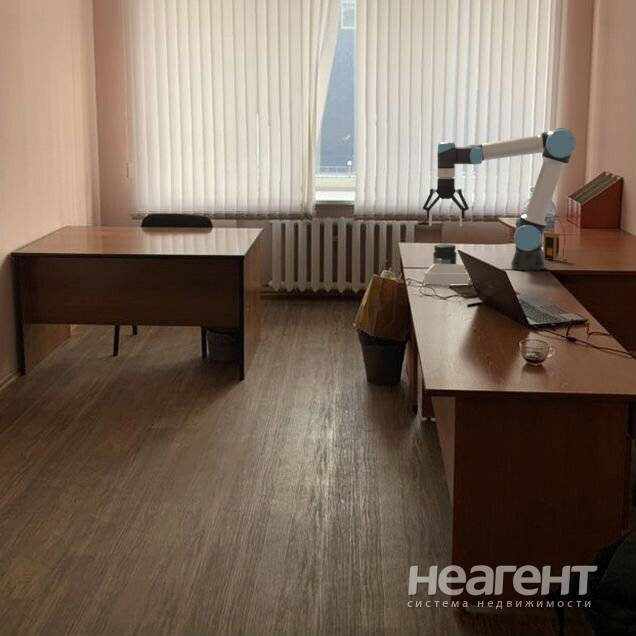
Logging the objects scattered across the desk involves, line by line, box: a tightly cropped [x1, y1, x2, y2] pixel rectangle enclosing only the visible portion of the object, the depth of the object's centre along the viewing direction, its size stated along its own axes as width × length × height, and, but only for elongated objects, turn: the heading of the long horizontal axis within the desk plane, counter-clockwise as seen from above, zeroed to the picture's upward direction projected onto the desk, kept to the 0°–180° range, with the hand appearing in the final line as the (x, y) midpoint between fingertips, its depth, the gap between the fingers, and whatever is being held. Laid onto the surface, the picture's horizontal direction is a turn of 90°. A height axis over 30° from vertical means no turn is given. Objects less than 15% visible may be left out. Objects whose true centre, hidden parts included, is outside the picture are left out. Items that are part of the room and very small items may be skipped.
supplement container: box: [432, 243, 458, 265], centre depth 454 cm, size 10×10×12 cm
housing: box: [423, 263, 470, 286], centre depth 434 cm, size 24×18×5 cm
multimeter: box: [542, 217, 566, 261], centre depth 480 cm, size 15×10×20 cm
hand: (445, 225), depth 450 cm, fingers open, 13 cm apart
